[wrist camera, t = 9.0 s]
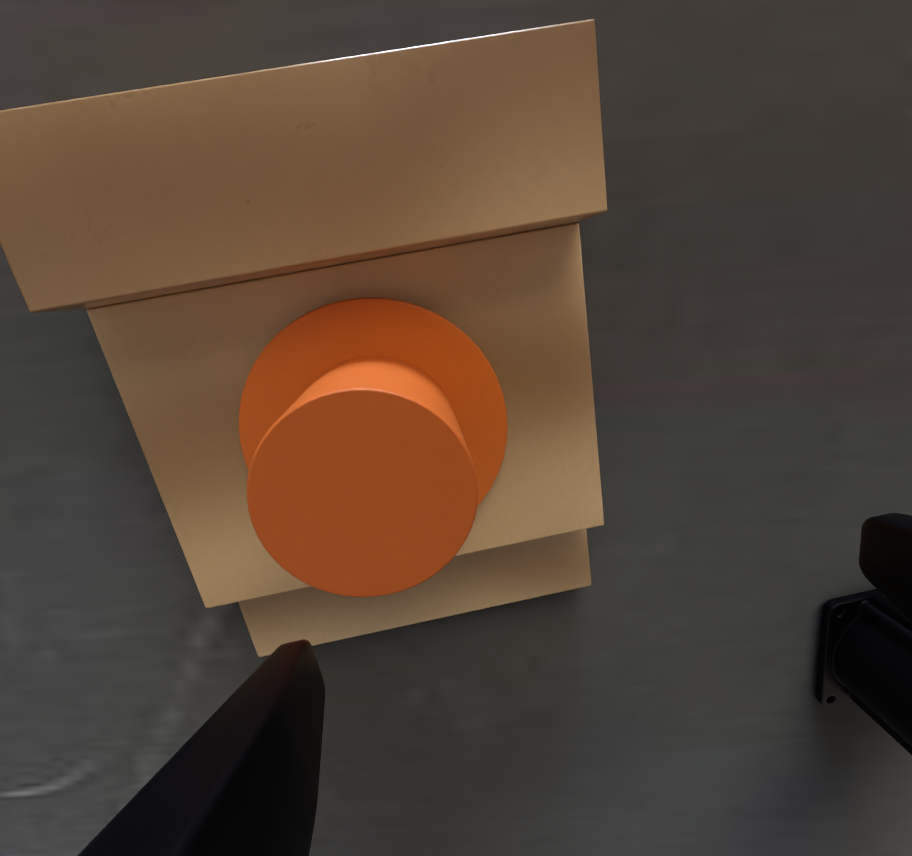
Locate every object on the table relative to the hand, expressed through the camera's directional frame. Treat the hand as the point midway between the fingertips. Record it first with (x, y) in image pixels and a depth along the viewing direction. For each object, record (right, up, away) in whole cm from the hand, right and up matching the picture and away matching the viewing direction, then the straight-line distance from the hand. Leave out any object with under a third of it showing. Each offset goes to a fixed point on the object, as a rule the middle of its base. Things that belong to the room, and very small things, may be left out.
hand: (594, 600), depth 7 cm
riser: (-5, +4, +11) cm, 12 cm away
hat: (-5, +3, +7) cm, 9 cm away
